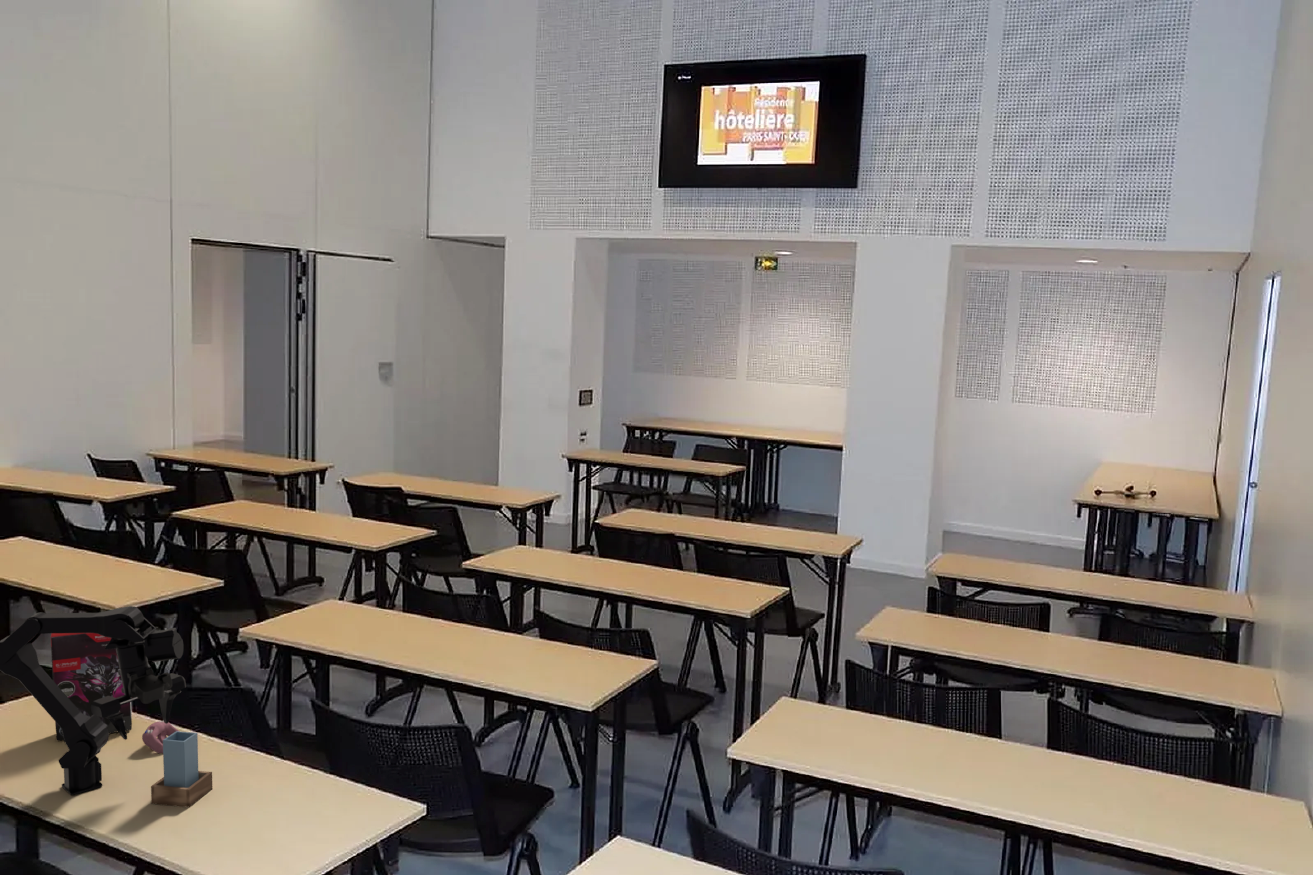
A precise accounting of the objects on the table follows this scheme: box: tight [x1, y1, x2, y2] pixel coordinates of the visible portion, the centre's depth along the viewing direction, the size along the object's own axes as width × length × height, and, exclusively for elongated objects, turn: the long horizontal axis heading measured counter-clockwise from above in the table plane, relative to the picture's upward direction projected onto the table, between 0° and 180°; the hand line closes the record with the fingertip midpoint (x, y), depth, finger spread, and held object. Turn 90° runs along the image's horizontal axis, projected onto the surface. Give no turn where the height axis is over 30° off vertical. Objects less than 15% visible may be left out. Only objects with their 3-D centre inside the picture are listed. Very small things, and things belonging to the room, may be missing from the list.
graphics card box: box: [50, 633, 133, 742], centre depth 261 cm, size 17×7×27 cm, turn 117°
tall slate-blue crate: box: [162, 730, 199, 788], centre depth 229 cm, size 5×5×13 cm
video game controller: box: [141, 719, 180, 754], centre depth 255 cm, size 10×5×7 cm, turn 179°
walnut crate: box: [150, 770, 213, 808], centre depth 229 cm, size 9×9×4 cm
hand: (146, 731), depth 233 cm, fingers open, 9 cm apart
